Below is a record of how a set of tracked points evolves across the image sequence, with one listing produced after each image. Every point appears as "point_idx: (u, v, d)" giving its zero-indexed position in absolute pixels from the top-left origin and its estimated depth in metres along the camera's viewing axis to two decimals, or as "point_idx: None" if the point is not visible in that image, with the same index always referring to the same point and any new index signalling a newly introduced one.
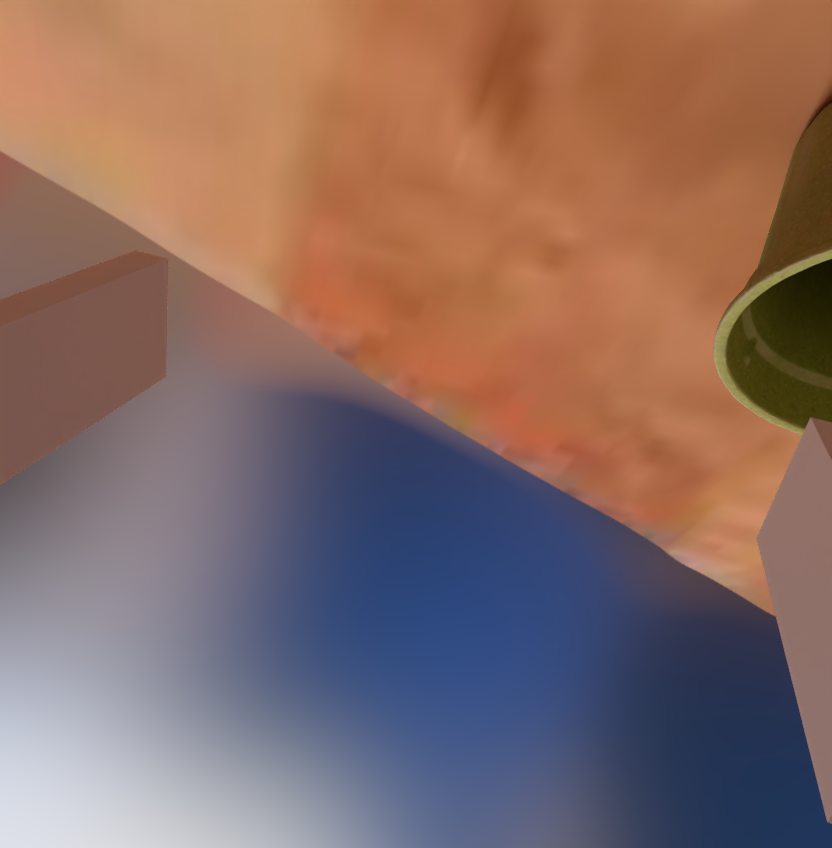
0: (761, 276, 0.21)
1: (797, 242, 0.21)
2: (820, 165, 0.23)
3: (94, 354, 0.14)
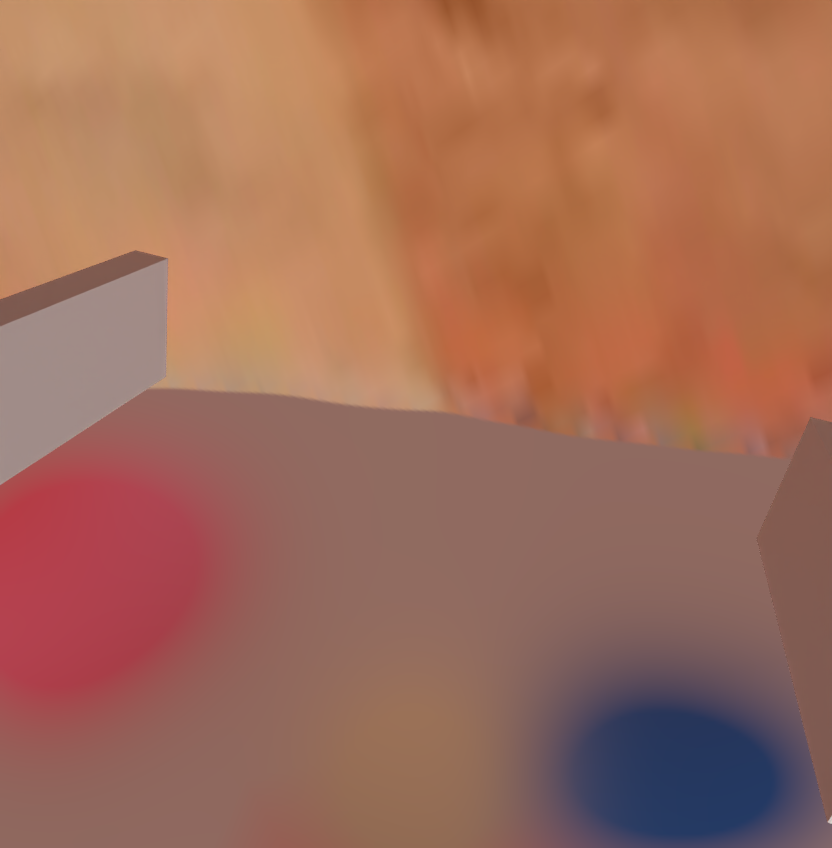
0: None
1: None
2: None
3: (94, 354, 0.14)
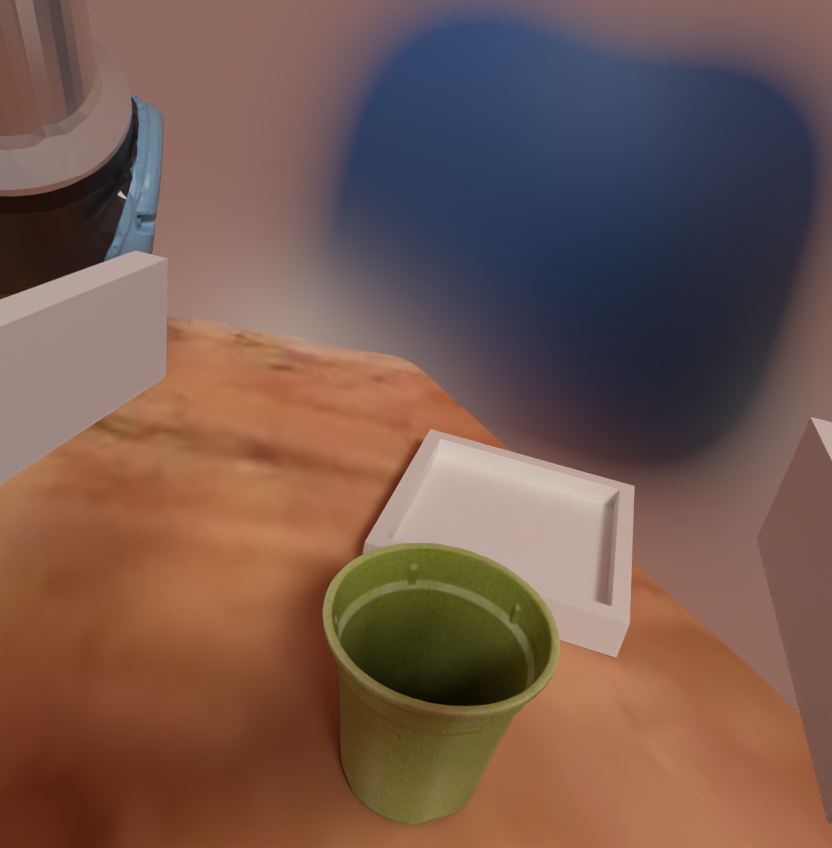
0: (322, 613, 0.30)
1: None
2: None
3: (94, 354, 0.14)
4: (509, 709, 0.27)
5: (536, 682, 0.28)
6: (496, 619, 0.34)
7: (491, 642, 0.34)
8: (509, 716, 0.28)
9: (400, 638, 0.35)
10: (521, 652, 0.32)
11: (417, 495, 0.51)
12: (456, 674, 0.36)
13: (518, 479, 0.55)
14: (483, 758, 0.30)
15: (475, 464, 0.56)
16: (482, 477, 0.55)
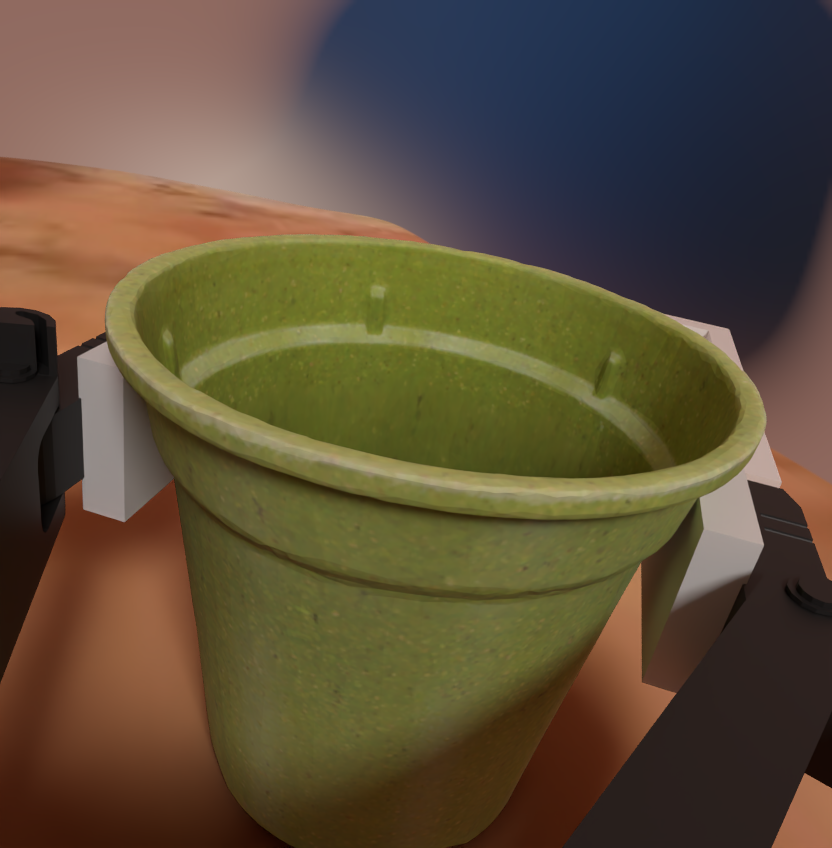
0: None
1: None
2: None
3: None
4: (667, 497, 0.08)
5: (727, 443, 0.09)
6: (562, 398, 0.15)
7: (549, 454, 0.15)
8: (643, 551, 0.10)
9: None
10: (630, 450, 0.13)
11: None
12: None
13: None
14: (552, 693, 0.11)
15: None
16: None
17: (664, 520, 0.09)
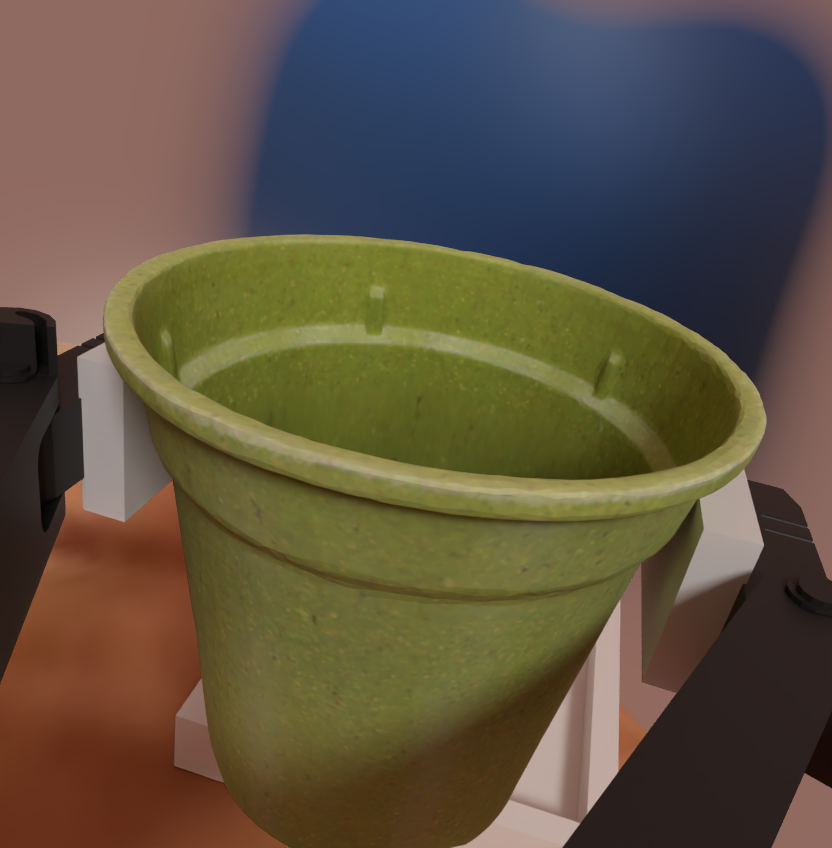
0: None
1: None
2: None
3: None
4: (666, 499, 0.08)
5: (727, 444, 0.09)
6: (562, 399, 0.15)
7: (549, 454, 0.15)
8: (642, 553, 0.10)
9: None
10: (630, 450, 0.13)
11: None
12: None
13: None
14: (552, 694, 0.11)
15: None
16: None
17: (664, 521, 0.09)
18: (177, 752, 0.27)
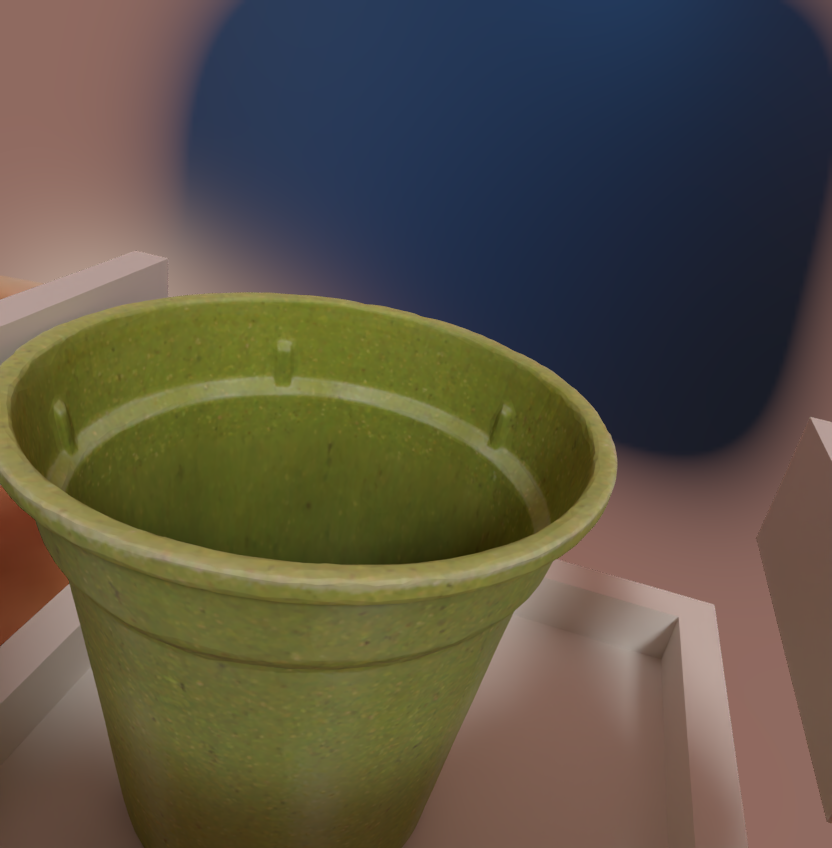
0: None
1: None
2: None
3: None
4: (490, 578, 0.09)
5: (565, 516, 0.10)
6: (461, 447, 0.16)
7: (450, 500, 0.16)
8: (491, 617, 0.10)
9: (265, 507, 0.17)
10: (517, 501, 0.14)
11: None
12: None
13: None
14: (429, 743, 0.12)
15: None
16: None
17: (508, 589, 0.10)
18: None
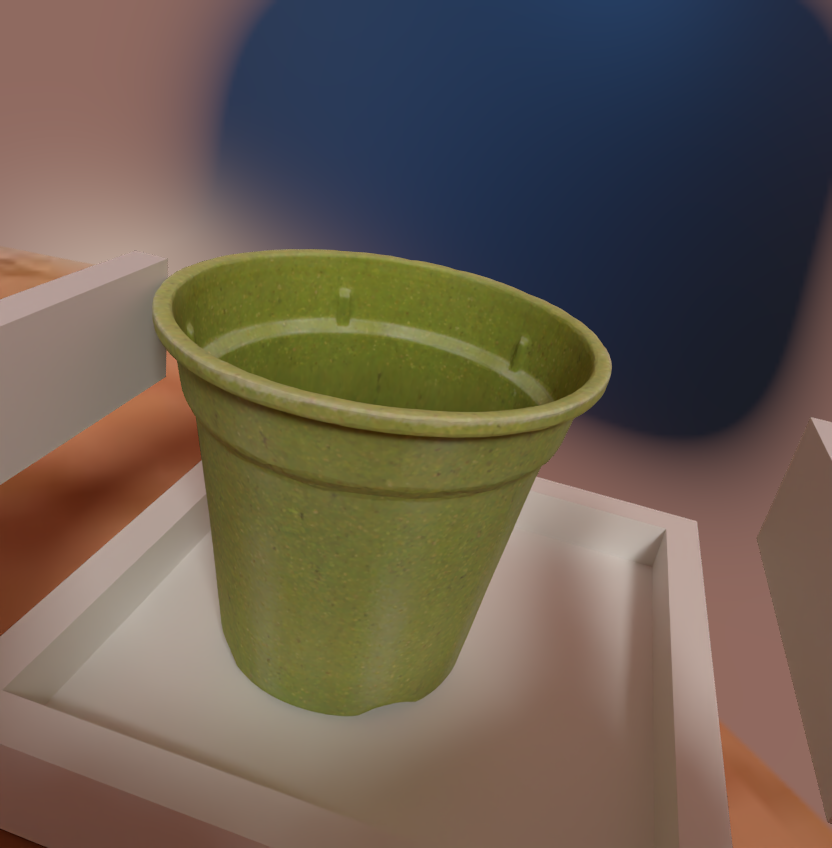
0: None
1: None
2: None
3: (94, 354, 0.14)
4: (525, 424, 0.13)
5: (575, 393, 0.14)
6: (487, 372, 0.20)
7: None
8: (522, 467, 0.14)
9: None
10: None
11: (198, 547, 0.22)
12: None
13: None
14: (471, 577, 0.16)
15: None
16: None
17: (534, 445, 0.14)
18: None
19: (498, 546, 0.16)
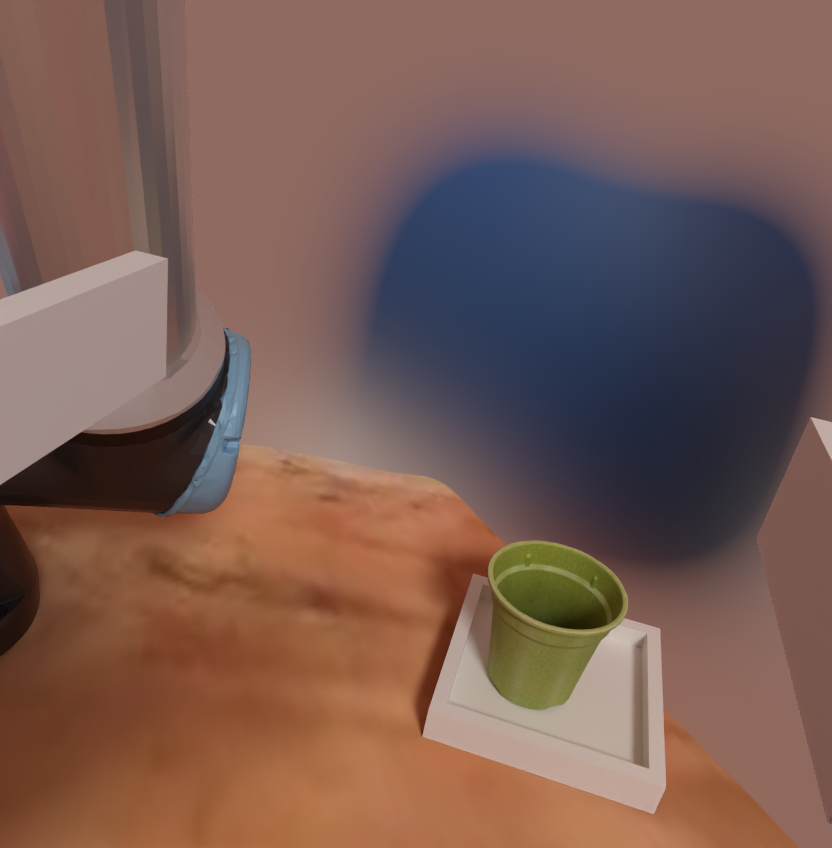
0: (489, 583, 0.50)
1: (491, 591, 0.51)
2: (491, 634, 0.53)
3: (94, 354, 0.14)
4: (606, 631, 0.48)
5: (618, 616, 0.49)
6: (581, 586, 0.55)
7: (578, 600, 0.55)
8: (603, 637, 0.49)
9: (519, 601, 0.56)
10: (600, 604, 0.53)
11: (466, 645, 0.57)
12: (553, 623, 0.56)
13: None
14: (584, 666, 0.51)
15: None
16: None
17: (607, 631, 0.49)
18: (425, 729, 0.50)
19: (592, 655, 0.51)
